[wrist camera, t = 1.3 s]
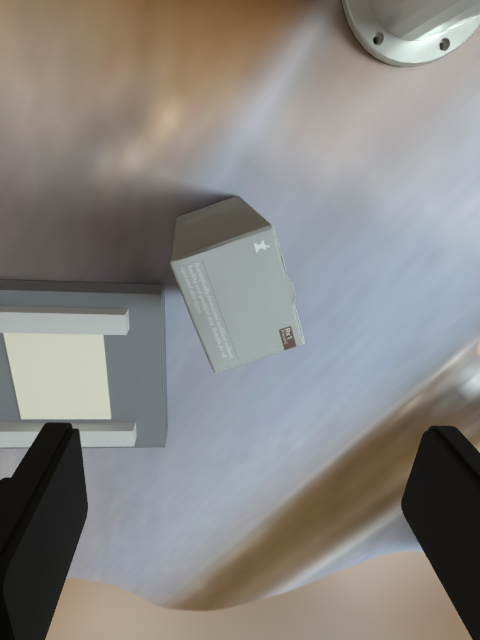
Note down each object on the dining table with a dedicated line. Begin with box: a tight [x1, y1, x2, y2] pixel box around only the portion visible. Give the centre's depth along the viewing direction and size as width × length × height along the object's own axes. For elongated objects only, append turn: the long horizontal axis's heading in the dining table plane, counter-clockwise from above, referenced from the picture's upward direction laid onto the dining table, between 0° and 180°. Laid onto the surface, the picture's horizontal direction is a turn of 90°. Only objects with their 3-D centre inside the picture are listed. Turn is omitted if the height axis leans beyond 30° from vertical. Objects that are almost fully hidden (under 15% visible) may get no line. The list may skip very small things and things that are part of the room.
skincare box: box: [170, 196, 305, 373], centre depth 29 cm, size 8×7×16 cm
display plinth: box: [0, 279, 168, 449], centre depth 38 cm, size 20×18×4 cm
